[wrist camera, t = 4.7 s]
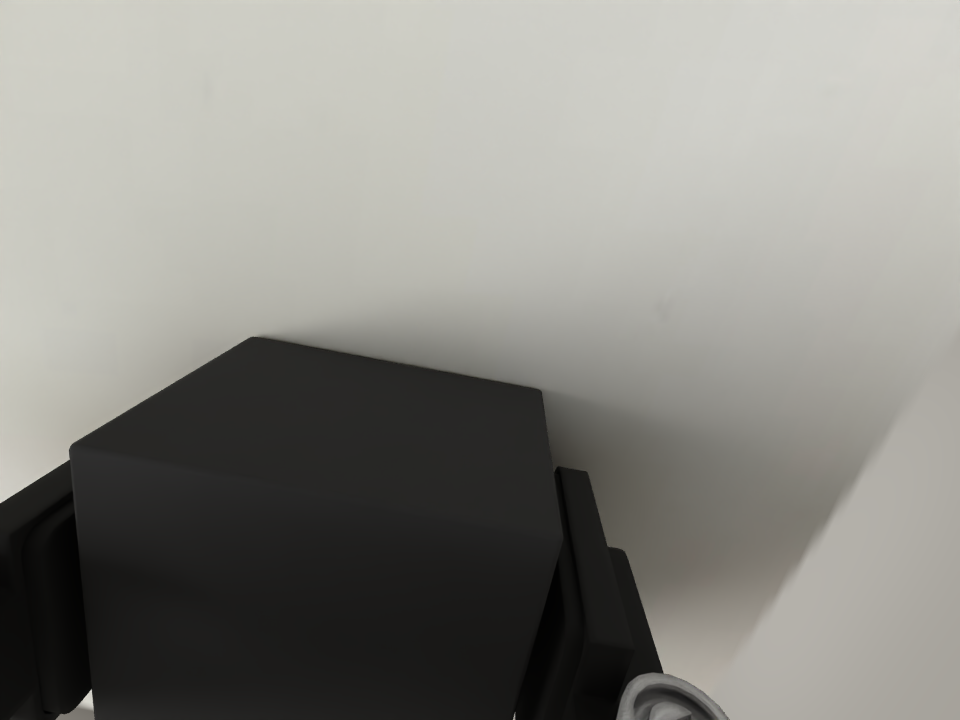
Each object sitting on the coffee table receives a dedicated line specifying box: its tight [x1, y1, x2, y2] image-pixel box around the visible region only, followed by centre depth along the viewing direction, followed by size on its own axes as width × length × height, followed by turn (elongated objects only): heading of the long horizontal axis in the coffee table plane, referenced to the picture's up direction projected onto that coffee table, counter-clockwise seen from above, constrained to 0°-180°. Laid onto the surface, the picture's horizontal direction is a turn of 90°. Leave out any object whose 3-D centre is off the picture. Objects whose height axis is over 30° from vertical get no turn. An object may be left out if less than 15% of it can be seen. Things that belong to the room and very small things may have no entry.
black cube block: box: [69, 337, 563, 720], centre depth 8 cm, size 5×5×4 cm
